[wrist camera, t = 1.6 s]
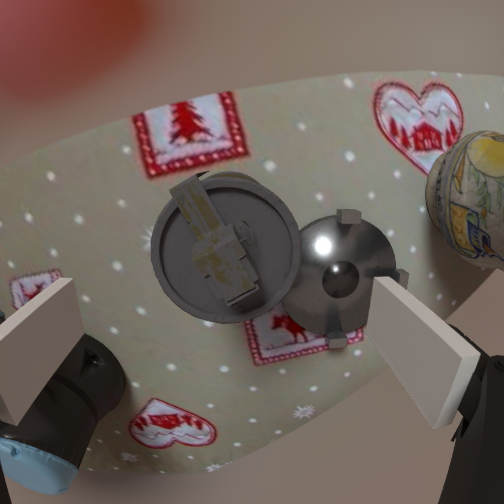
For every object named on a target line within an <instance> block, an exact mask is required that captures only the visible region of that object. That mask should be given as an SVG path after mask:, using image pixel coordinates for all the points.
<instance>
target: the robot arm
mask: <svg viewBox="0 0 504 504" xmlns="http://www.w3.org/2000/svg"><path fill="white" fill-rule="evenodd" d="M365 333H366V334H367V336H368V337H369V338H370V340H371V341H372V343H373V344H374V345H375V347H376V348H377V350H378V351H379V352H380V354H381V355H382V357H383V358H384V359H385V361H386V362H387V364H388V365H389V366H390V368H391V369H392V371H393V372H394V373H395V375H396V376H397V378H398V379H399V381H400V382H401V384H402V385H403V387H404V388H405V389H406V391H407V392H408V394H409V395H410V397H411V398H412V399H413V401H414V402H415V404H416V405H417V407H418V408H419V410H420V411H421V413H422V414H423V416H424V417H425V419H426V420H427V422H428V423H429V425H430V426H431V428H432V429H437V428H440V427H443V426H446V425H449V424H451V423H452V421H453V419H454V417H455V415H456V413H457V410H458V411H459V412H460V413H461V414H462V416H463V418H462V420H461V422H460V424H459V426H458V428H457V430H456V432H455V434H454V436H453V438H452V439H451V441H454V440H455V438H456V442H455V447H454V451H453V455H452V459H451V463H450V466H449V470H448V473H447V477H446V480H445V484H444V487H443V490H442V493H441V496H440V499H439V502H438V504H504V356H499V355H496V356H492V357H490V356H488V355H487V354H486V353H485V352H484V351H483V350H482V349H480V348H479V347H478V346H477V345H476V344H475V343H474V342H473V341H470V339H469V338H468V337H467V336H464V334H463V333H462V332H461V331H460V330H459V329H457V328H456V327H454V326H452V325H450V324H448V323H446V322H444V321H443V320H442V319H441V318H439V317H438V316H437V315H436V314H435V313H433V312H432V311H431V310H430V309H429V308H427V307H426V306H425V305H424V304H423V303H421V302H420V301H419V300H418V299H417V298H415V297H414V296H413V295H412V294H410V293H409V292H408V291H407V290H405V289H404V288H403V287H402V286H400V285H399V284H398V283H397V282H395V281H394V280H393V279H392V278H390V277H374V281H373V289H372V296H371V302H370V309H369V315H368V321H367V327H366V332H365ZM124 390H125V377H124V373H123V371H122V368H121V366H120V364H119V363H118V361H117V359H116V358H115V357H114V355H113V354H112V353H111V352H110V351H109V350H108V349H107V348H106V347H105V346H104V345H103V344H101V343H100V342H99V341H97V340H96V339H94V338H92V337H91V336H89V335H86V334H84V328H83V324H82V319H81V315H80V310H79V305H78V300H77V294H76V289H75V283H74V278H59V279H58V280H56V281H55V282H54V283H52V284H51V285H50V286H48V287H47V288H46V289H45V290H43V291H42V292H41V293H39V294H38V295H37V296H35V297H34V298H33V299H32V300H30V301H29V302H28V303H26V304H25V305H24V306H23V307H21V308H20V309H19V310H18V311H16V312H15V313H14V314H13V315H12V316H10V317H9V318H8V319H7V320H6V319H5V314H4V313H3V312H1V310H0V504H12V503H11V499H10V496H9V493H8V489H7V486H6V482H5V478H4V475H6V476H7V477H8V478H10V479H12V480H13V481H15V482H17V483H18V484H20V485H23V486H24V487H26V488H29V489H31V490H34V491H36V492H40V493H43V494H49V495H59V494H63V493H65V492H66V491H67V490H68V489H69V487H70V485H71V483H72V481H73V480H74V477H75V476H76V475H77V474H78V469H79V467H80V464H81V462H82V459H83V457H84V454H85V452H86V449H87V447H88V444H89V442H90V439H91V437H92V435H93V432H94V430H95V428H96V426H97V423H98V422H99V421H100V420H101V419H102V418H103V417H104V416H105V415H106V414H107V413H108V412H110V411H112V410H113V409H114V408H115V407H116V406H117V405H118V403H119V402H120V400H121V397H122V395H123V393H124Z"/></svg>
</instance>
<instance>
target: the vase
mask: <svg viewBox="0 0 504 504" xmlns="http://www.w3.org/2000/svg"><path fill="white" fill-rule="evenodd" d="M426 203H427V207H428V211H429V214H430V216H431V218H432V220H433V222H434V223H435V225H436V226H437V227H438V228H439V229H440V230H441V231H442V233H443V235H444V237H445V239H446V241H447V242H448V244H449V245H450V247H451V248H452V249H453V251H455V252H456V253H457V254H458V255H459V256H460V257H461V258H462V259H463V260H465V261H467V262H468V263H470V264H472V265H475V266H478V267H483V268H498V269H500V270H502V271H504V134H502V133H498V132H494V131H478V132H474V133H471V134H469V135H467V136H465V137H464V138H462V139H461V140H459V141H458V142H457V143H456V144H455V145H453V147H452V148H451V149H450V150H449V151H447V152H445V153H443V154H441V155H440V156H439V157H438V158H437V159H436V161H435V162H434V164H433V166H432V168H431V170H430V172H429V175H428V180H427V185H426Z"/></svg>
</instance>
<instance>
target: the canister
mask: <svg viewBox="0 0 504 504" xmlns="http://www.w3.org/2000/svg"><path fill="white" fill-rule="evenodd" d="M207 172H209V171H207ZM207 172H202V173H198V174H195V175H193V176H192V177H190V178H188V179H187V180H185V181H183V182H182V183H180V184H178V185H177V186H175V187H173V188H172V189H170V190H169V191H170V193H171V195H172V197H173V198H172V199H171V200H170V201H169V202H168V204H167V205H166V206H165V207H164V209H163V210H162V212H161V213H160V215H159V216H158V219H157V221H156V224H155V227H154V229H153V233H152V238H151V262H152V265H153V269H154V272H155V275H156V277H157V279H158V281H159V283H160V285H161V287H162V289H163V291H164V293H165V294H166V295H167V296H168V297H169V298H170V299H171V300H172V301H173V302H174V303H175V304H176V305H177V306H178V307H179V308H181V309H182V310H184V311H185V312H187V313H189V314H190V315H192V316H194V317H196V318H200V319H203V320H206V321H210V322H216V323H222V324H227V323H239V322H243V321H247V320H252V319H254V318H256V317H258V316H261V315H262V314H264V313H266V312H268V311H269V310H271V309H273V308H274V307H276V305H277V304H278V303H279V302H280V301H281V300H282V299H283V298H284V297H285V296H286V295H287V294H288V292H289V291H290V289H291V288H292V286H293V285H294V282H295V280H296V278H297V276H298V273H299V269H300V264H301V260H302V241H301V237H300V233H299V229H298V225H297V223H296V221H295V219H294V217H293V215H292V213H291V212H290V210H289V209H288V207H287V206H286V205H285V204H284V202H283V201H282V200H281V199H280V198H279V197H278V196H277V195H275V194H274V193H273V192H271V191H270V190H269V189H267V188H266V187H264V186H262V185H261V184H260V183H258V182H257V181H256V180H254V179H253V178H251V177H250V176H247V175H245V174H242V173H238V172H221V173H217V174H214V175H211V176H210V177H208V178H206V179H205V180H202V181H199V179H198V177H200V176H202V175H203V174H205V173H207Z"/></svg>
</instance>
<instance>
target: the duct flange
mask: <svg viewBox="0 0 504 504" xmlns="http://www.w3.org/2000/svg"><path fill="white" fill-rule="evenodd" d="M299 233H300V237H301V241H302V260H301V264H300V269H299V273H298V276H297V278H296V280H295V282H294V285H293V286H292V288H291V289H290V291H289V292H288V294H287V295H286V296H285V297H284V298H283V299H282V300H281V301H282V304H283V306H284V308H285V310H286V312H287V313H288V314H289V316H290V317H291V318H292V319H293V320H294V321H295V322H296V323H297V324H298V325H300V326H301V327H303V328H305V329H306V330H309V331H311V332H314V333H318V334H325V335H326V339H325V341H326V343H327V345H328V347H329V349H330V348H342V347H346V345H347V339H348V338H347V336H346V335H345V333H347V332H350V331H353V330H355V329H357V328H359V327H361V326H363V325H364V324H366V323H367V321H368V315H369V309H370V302H371V296H372V289H373V281H374V277H390V278H392V279H393V280H394V281H395V282H397V283H398V284H399V285H400V286H402V287H403V288H404V289H405V290H407V284H408V278H409V273H408V272H406V271H405V270H403V269H396V261H395V255H394V252H393V249H392V247H391V245H390V243H389V241H388V239H387V238H386V236H385V235H384V234H383V233H382V232H381V231H380V230H379V229H378V228H377V227H375V226H374V225H372V224H371V223H369V222H367V221H365V220H362V219H361V212H360V211H358V210H353V209H337V215H332V216H327V217H323V218H320V219H318V220H315V221H313V222H311V223H310V224H308V225H307V226H305V227H304V228H302V229H301V230H300V231H299Z"/></svg>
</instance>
